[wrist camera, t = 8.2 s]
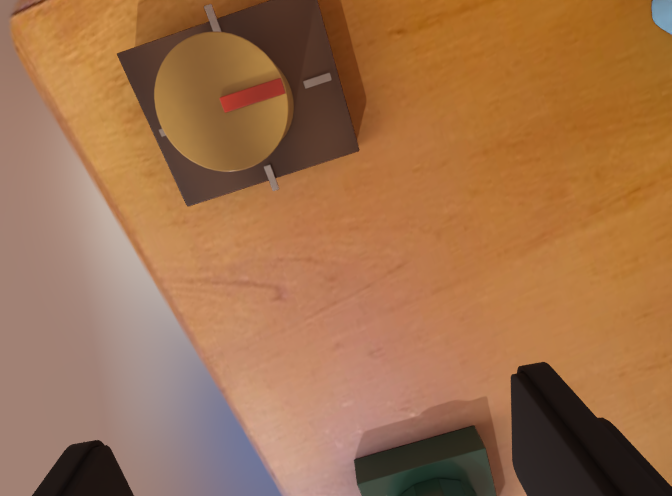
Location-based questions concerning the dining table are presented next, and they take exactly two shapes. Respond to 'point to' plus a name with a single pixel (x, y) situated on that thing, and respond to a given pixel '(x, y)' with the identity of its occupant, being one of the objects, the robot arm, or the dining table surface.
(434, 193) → the dining table surface
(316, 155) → the dimmer
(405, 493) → the switch box
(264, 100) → the knob
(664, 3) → the light blue open shell
